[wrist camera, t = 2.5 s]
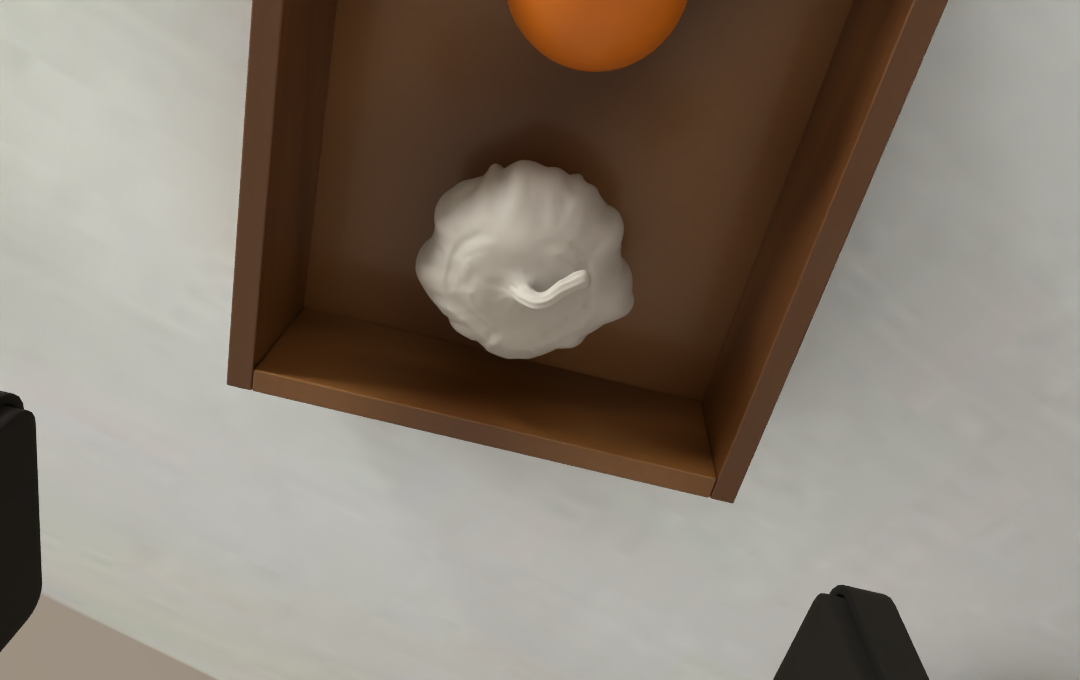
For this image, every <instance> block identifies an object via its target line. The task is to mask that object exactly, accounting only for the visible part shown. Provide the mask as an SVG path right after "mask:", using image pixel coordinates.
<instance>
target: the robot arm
mask: <svg viewBox="0 0 1080 680" xmlns="http://www.w3.org/2000/svg"><path fill="white" fill-rule="evenodd" d="M41 589H42V572H41V546H40V521H39V495H38V470H37V445H36V422H35V417H34V415H33V413H32V412H30V411H28V410H24V407H23V402H22V401H21V399H20V397H19V396H17V395H15V394H12V393H8V392H3V391H0V652H1V650H2V649H3V648H4V647H5V646H6V645H7V643H8V642H9V641H10V640H11V639H12V637H13V636H14V635H15V634H16V633H17V631H18V630H19V629H20V628H21V627H22V625H23V624H24V623H25V622H26V621H27V620H28V618H29V617H30V615H31V614H32V613H33V610H34V609H35V607H36V605H37V602H38V600H39V597H40V594H41ZM773 680H929V678H928V676H927V674H926V671H925V669H924V667H923V665H922V663H921V661H920V658H919V656H918V654H917V652H916V650H915V647H914V645H913V643H912V641H911V639H910V637H909V634H908V632H907V630H906V628H905V626H904V623H903V621H902V619H901V617H900V615H899V613H898V610H897V608H896V606H895V604H894V603H893V601H892V600H891V598H890V597H888V596H886V595H884V594H880V593H876V592H871V591H867V590H863V589H858V588H854V587H850V586H845V585H837V586H836V587H835V588H833V589H832V591H831V592H830V594H825V593H820V594H819V595H818V596H817V597H816V598H815V600H814V601H813V603H812V605H811V607H810V609H809V611H808V613H807V615H806V617H805V619H804V621H803V623H802V624H801V626H800V628H799V630H798V632H797V634H796V636H795V638H794V640H793V642H792V644H791V646H790V648H789V650H788V652H787V654H786V656H785V658H784V660H783V662H782V663H781V665H780V667H779V669H778V671H777V673H776V675H775V677H774V679H773Z"/></svg>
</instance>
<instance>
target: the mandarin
mask: <svg viewBox="0 0 1080 680" xmlns="http://www.w3.org/2000/svg"><path fill="white" fill-rule="evenodd" d="M506 1H507V4H508V7H509V9H510V12H511V15H512V17H513V19H514V21H515V23H516V25H517V26H518V28H519V29H520V31H521V32H522V34H523V35H524V37H525V38H526V39H527V40H528V41H529V42H530V43H531V45H532V46H533V47H535V48H536V49H537V50H538V51H539V52H540V53H541V54H543V55H544V56H546V57H547V58H549V59H550V60H552V61H554V62H556V63H558V64H560V65H562V66H565V67H568V68H571V69H574V70H580V71H585V72H604V71H612V70H616V69H620V68H623V67H626V66H629V65H631V64H633V63H635V62H637V61H639V60H641V59H643V58H644V57H646V56H647V55H649V54H650V53H651V52H653V51H654V50H655V49H656V48H657V47H658V46H660V45H661V44H662V43H663V42H664V41H665V39H666V38H667V37H668V36H669V35H670V34H671V32H672V31H673V29H674V28H675V26H676V25H677V23H678V22H679V20H680V18H681V16H682V14H683V12H684V10H685V7H686V4H687V2H688V0H506Z"/></svg>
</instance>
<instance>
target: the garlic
mask: <svg viewBox="0 0 1080 680" xmlns="http://www.w3.org/2000/svg"><path fill="white" fill-rule="evenodd" d="M434 223H435V230H434V233H433V235H432V237H431V238H430V239H428V240H427V241H426V242H425V243H424V244H423V246H422V247H421V249H420V251H419V253H418V255H417V259H416V274H417V277H418V279H419V281H420V283H421V285H422V286H423V288H424V290H425V291H426V293H427V294H428V296H429V297H430V298H431V300H432V301H433V302H434V303H435V304H436V305H437V307H438V308H439V309H440V310H441V312H442V313H443V314H444V315H446V316H448V318H449V321H450V324H451V325H452V327H453V328H454V329H455V330H456V331H457V332H458V333H460V334H462V335H463V336H465V337H467V338H469V339H471V340H476V341H478V342H479V343H480V344H481V345H482V346H483V347H484V348H485V349H486V350H487V351H488V352H490V353H492V354H495V355H498V356H500V357H503V358H507V359H530V358H534V357H537V356H541V355H544V354H546V353H548V352H551V351H553V350H555V349H565V348H573V347H575V346H577V345H579V344H580V343H581V342H582V341H583V340H584V339H585V337H586V336H587V335H588V334H589V333H592V332H593V331H595V330H597V329H598V328H599V327H601V326H602V325H604V324H607V323H610V322H613V321H615V320H618V319H620V318H622V317H624V316H626V315H627V314H628V313H629V312H630V311H631V309H632V307H633V304H634V297H633V292H632V287H633V278H632V273H631V270H630V268H629V266H628V264H627V262H626V261H625V260H624V259H623V258H622V257H621V246H622V243H621V242H622V239H623V234H624V224H623V220H622V217H621V215H620V214H619V212H618V211H617V210H616V209H615V208H613V207H612V206H610V205H608V204H606V202H605V201H604V200H603V198H602V197H601V195H600V194H599V191H598V189H597V188H596V187H595V186H594V185H592V184H589V183H587V182H586V181H585V180H584V178H583V176H582V175H580V174H572V175H570V174H568V173H566V172H565V171H564V170H562V169H561V168H558V167H545V166H543V165H541V164H539V163H537V162H534V161H530V160H519V161H516V162H514V163H513V164H511V165H509V166H508V167H506V168H505V169H504V168H503V167H502V166H501V165H499V164H493V165H491V166H490V167H489V169H488V171H487V172H486V173H485V175H483V176H480V177H477V178H474V179H469V180H464V181H462V182H460V183H458V184H456V185H455V186H454V187H453V188H451V189H450V190H448V191H447V192H445V193H444V194H443V195H442V197H441V198H440V200H439V201H438V203H437V205H436V208H435V213H434Z"/></svg>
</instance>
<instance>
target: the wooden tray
mask: <svg viewBox="0 0 1080 680" xmlns="http://www.w3.org/2000/svg"><path fill="white" fill-rule="evenodd" d="M947 2H948V0H688V2H687V4H686V7H685V10H684V12H683V14H682V16H681V18H680V20H679V22H678V23H677V25H676V26H675V28H674V29H673V31H672V32H671V34H670V35H669V36H668V37H667V38H666V39H665V41H664V42H663V43H662V44H661V45H660V46H658V47H657V48H656V49H655V50H654V51H653V52H651V53H650V54H649V55H647V56H646V57H644V58H643V59H641V60H639V61H637V62H635V63H633V64H631V65H629V66H626V67H623V68H620V69H616V70H612V71H604V72H585V71H580V70H574V69H571V68H568V67H565V66H562V65H560V64H558V63H556V62H554V61H552V60H550V59H549V58H547V57H546V56H544V55H543V54H541V53H540V52H539V51H538V50H537V49H536V48H535V47H533V46H532V45H531V43H530V42H529V41H528V40H527V39H526V38H525V37H524V35H523V34H522V32H521V31H520V29H519V28H518V26H517V25H516V23H515V21H514V19H513V17H512V15H511V12H510V9H509V7H508V4H507V1H506V0H252V15H251V30H250V45H249V59H248V74H247V89H246V104H245V119H244V134H243V149H242V164H241V179H240V194H239V209H238V224H237V239H236V253H235V268H234V283H233V298H232V313H231V328H230V343H229V358H228V373H227V385H230V386H235V387H239V388H243V389H248V390H251V389H252V390H253V391H256V392H261V393H265V394H269V395H273V396H278V397H282V398H286V399H290V400H295V401H299V402H303V403H307V404H312V405H316V406H320V407H324V408H329V409H333V410H337V411H342V412H346V413H350V414H354V415H359V416H363V417H367V418H371V419H376V420H380V421H384V422H388V423H393V424H397V425H401V426H405V427H410V428H414V429H418V430H422V431H427V432H431V433H435V434H439V435H444V436H448V437H452V438H456V439H461V440H465V441H469V442H473V443H478V444H482V445H486V446H490V447H495V448H499V449H503V450H507V451H512V452H516V453H520V454H524V455H529V456H533V457H537V458H541V459H546V460H550V461H554V462H558V463H563V464H567V465H571V466H575V467H580V468H584V469H588V470H592V471H597V472H601V473H605V474H610V475H614V476H618V477H622V478H627V479H631V480H635V481H639V482H644V483H648V484H652V485H656V486H661V487H665V488H669V489H673V490H678V491H682V492H686V493H690V494H695V495H699V496H703V497H707V498H708V497H710V498H712V499H716V500H720V501H725V502H729V503H733V502H734V500H735V498H736V496H737V493H738V491H739V488H740V486H741V484H742V481H743V479H744V477H745V474H746V472H747V470H748V467H749V465H750V463H751V460H752V458H753V456H754V453H755V451H756V449H757V446H758V444H759V442H760V439H761V437H762V435H763V432H764V430H765V428H766V425H767V423H768V421H769V418H770V416H771V414H772V411H773V409H774V407H775V404H776V402H777V400H778V397H779V395H780V393H781V390H782V388H783V385H784V383H785V381H786V378H787V376H788V374H789V371H790V369H791V367H792V364H793V362H794V360H795V357H796V355H797V353H798V350H799V348H800V346H801V343H802V341H803V339H804V336H805V334H806V332H807V329H808V327H809V325H810V322H811V320H812V318H813V315H814V313H815V311H816V308H817V306H818V304H819V301H820V299H821V297H822V294H823V292H824V290H825V287H826V285H827V283H828V280H829V278H830V275H831V273H832V271H833V268H834V266H835V264H836V261H837V259H838V257H839V254H840V252H841V250H842V247H843V245H844V243H845V240H846V238H847V236H848V233H849V231H850V229H851V226H852V224H853V222H854V219H855V217H856V215H857V212H858V210H859V208H860V205H861V203H862V201H863V198H864V196H865V194H866V191H867V189H868V187H869V184H870V182H871V180H872V177H873V175H874V173H875V170H876V168H877V165H878V163H879V161H880V158H881V156H882V154H883V151H884V149H885V147H886V144H887V142H888V140H889V137H890V135H891V133H892V130H893V128H894V126H895V123H896V121H897V119H898V116H899V114H900V112H901V109H902V107H903V105H904V102H905V100H906V98H907V95H908V93H909V91H910V88H911V86H912V84H913V81H914V79H915V77H916V74H917V72H918V70H919V67H920V65H921V62H922V60H923V58H924V55H925V53H926V51H927V48H928V46H929V44H930V41H931V39H932V37H933V34H934V32H935V30H936V27H937V25H938V23H939V20H940V18H941V16H942V13H943V11H944V9H945V6H946V4H947ZM519 160H530V161H534V162H537V163H539V164H541V165H543V166H545V167H558V168H561V169H562V170H564V171H565V172H566V173H568V174H570V175H572V174H580V175H582V176H583V178H584V180H585V181H586V182H587V183H589V184H592V185H594V186H595V187H596V188H597V189H598V191H599V194H600V195H601V197H602V198H603V200H604V201H605V202H606V204H608V205H610V206H612V207H613V208H615V209H616V210H617V211H618V212H619V214H620V215H621V217H622V220H623V224H624V234H623V239H622V242H621V243H622V246H621V257H622V258H623V259H624V260H625V261H626V262H627V264H628V266H629V268H630V270H631V273H632V278H633V287H632V292H633V297H634V304H633V307H632V309H631V311H630V312H629V313H628V314H627V315H626V316H624V317H622V318H620V319H618V320H615V321H613V322H610V323H607V324H604V325H602V326H601V327H599V328H598V329H597V330H595V331H593V332H592V333H589V334H588V335H587V336H586V337H585V339H584V340H583V341H582V342H581V343H580V344H579V345H577V346H575V347H573V348H565V349H555V350H553V351H551V352H548V353H546V354H544V355H541V356H537V357H534V358H530V359H507V358H503V357H500V356H498V355H495V354H492V353H490V352H488V351H487V350H486V349H485V348H484V347H483V346H482V345H481V344H480V343H479V342H478V341H476V340H471V339H469V338H467V337H465V336H463V335H462V334H460V333H458V332H457V331H456V330H455V329H454V328H453V327H452V325H451V324H450V321H449V318H448V316H446V315H444V314H443V313H442V312H441V310H440V309H439V308H438V307H437V305H436V304H435V303H434V302H433V301H432V300H431V298H430V297H429V296H428V294H427V293H426V291H425V290H424V288H423V286H422V285H421V283H420V281H419V279H418V277H417V274H416V259H417V255H418V253H419V251H420V249H421V247H422V246H423V244H424V243H425V242H426V241H427V240H428V239H430V238H431V237H432V235H433V233H434V230H435V223H434V213H435V208H436V205H437V203H438V201H439V200H440V198H441V197H442V195H443V194H444V193H445V192H447V191H448V190H450V189H451V188H453V187H454V186H455V185H456V184H458V183H460V182H462V181H464V180H469V179H474V178H477V177H480V176H483V175H485V173H486V172H487V171H488V169H489V167H490V166H491V165H493V164H499V165H501V166H502V167H503V168H504V169H505V168H506V167H508V166H509V165H511V164H513V163H514V162H516V161H519Z"/></svg>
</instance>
